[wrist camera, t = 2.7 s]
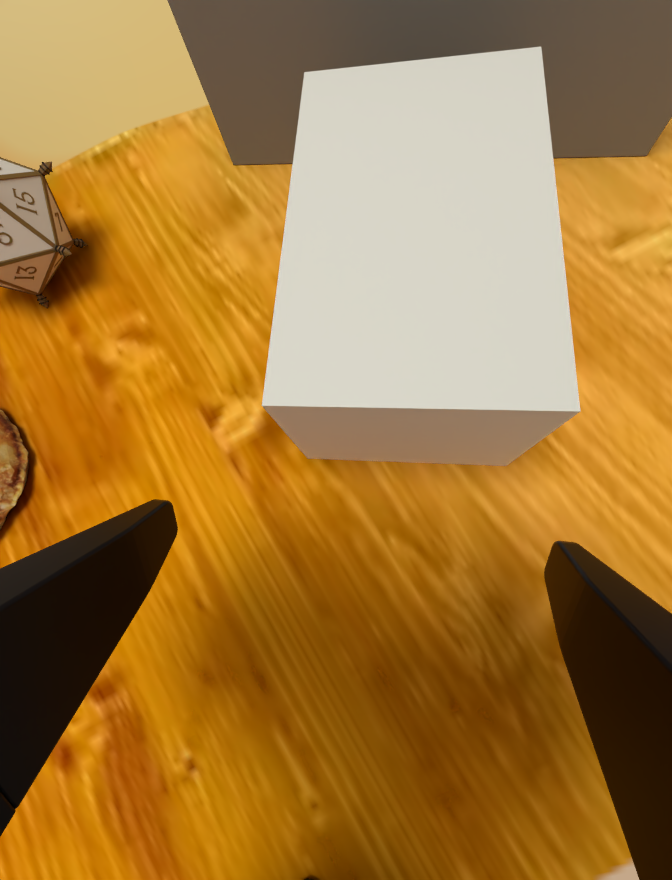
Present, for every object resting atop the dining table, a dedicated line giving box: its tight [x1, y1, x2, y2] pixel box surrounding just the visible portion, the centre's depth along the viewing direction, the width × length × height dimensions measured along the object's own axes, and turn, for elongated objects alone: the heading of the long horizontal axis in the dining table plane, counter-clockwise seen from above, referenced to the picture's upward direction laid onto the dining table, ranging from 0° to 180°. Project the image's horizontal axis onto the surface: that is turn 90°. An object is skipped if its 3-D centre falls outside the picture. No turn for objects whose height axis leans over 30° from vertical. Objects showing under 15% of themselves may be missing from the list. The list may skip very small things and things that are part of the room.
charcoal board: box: [168, 0, 672, 165], centre depth 21 cm, size 26×2×10 cm, turn 82°
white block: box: [262, 47, 580, 466], centre depth 18 cm, size 16×10×8 cm, turn 176°
